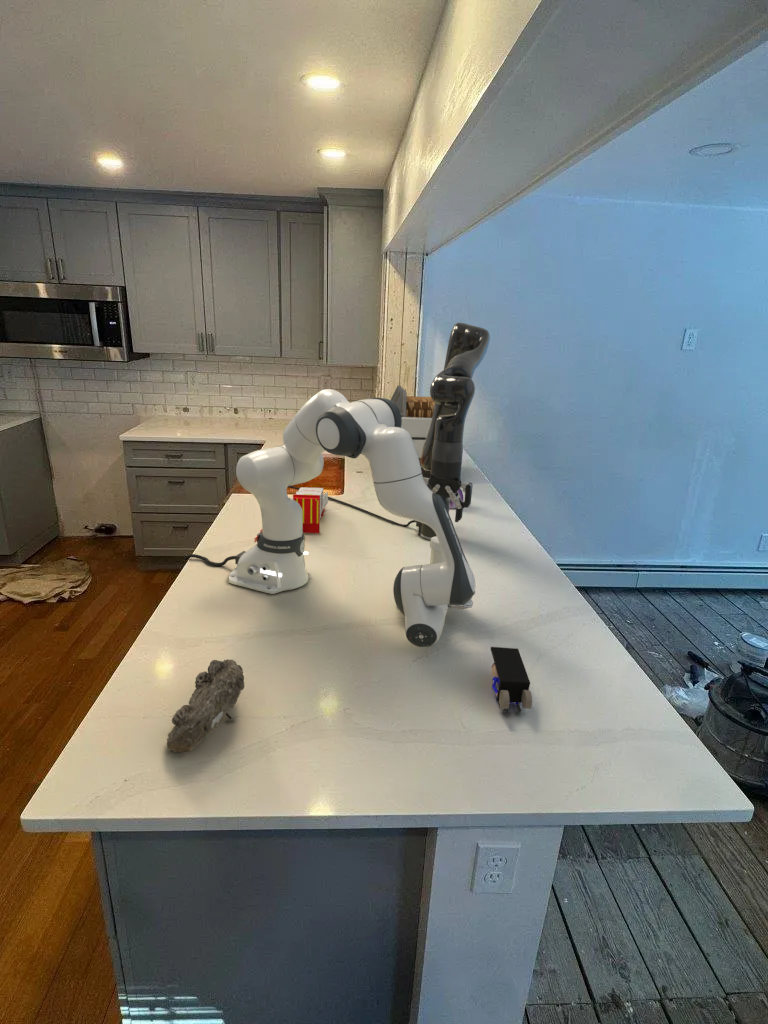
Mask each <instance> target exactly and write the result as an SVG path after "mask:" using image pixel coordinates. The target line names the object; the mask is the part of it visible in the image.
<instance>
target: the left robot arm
mask: <svg viewBox="0 0 768 1024" xmlns="http://www.w3.org/2000/svg"><path fill="white" fill-rule="evenodd" d="M401 424H402V417H401V413H400V410H399V408H398V407H397V405H396V404H395V403H394V402H392V401H391V399H388V398H385V397H369V398H364V399H359V400H354V401H351V402H349V400H348V399H347V398H346V397H345V396H344V394H343V393H341V392H339V391H338V390H336V389H333V388H332V389H331V388H325V389H322V390H320V391H318V392H317V393H315V394H314V395H313V396H311V397H310V398H309V399H308V400H307V401H306V402H305V403H304V404H303V405H302V406H301V407H300V409H299V410H298V411H297V412H296V414H295V415H294V416H293V417H292V419H291V420H290V421H289V423H288V424H287V425H286V426H285V428H284V430H283V432H282V441H283V444H282V445H278V446H273V447H268V448H262V449H257V450H255V451H252V452H249V453H247V454H245V455H242V456H241V457H240V458H239V459H238V461H237V463H236V466H235V467H236V468H235V476H236V479H237V481H238V483H239V485H240V486H241V487H242V488H243V489H244V490H245V491H247V492H248V493H250V494H251V495H252V496H253V497H254V498H255V499H256V501H257V503H258V505H259V510H260V514H261V529H260V531H259V532H258V533H257V534H256V537H254V539H253V540H254V542H253V543H256V544H254V545H253V546H252V547H250V548H249V549H247V550H242V551H241V552H239V553H238V554H235V555H230V556H228V557H226V558H225V559H224V560H223V561H222V562H216V561H215V562H214V561H211V560H210V559H209V558H207V557H206V556H203V555H201V554H200V555H199V554H197V553H190V554H187V555H186V556H184V557H183V560H189V559H191V558H193V559H194V558H195V559H199V560H202V561H204V562H205V563H206V564H208V565H209V566H213V567H223V566H225V565H226V564H227V563H228V561H231V560H232V561H233V560H234V562H235V563H234V564H235V565H236V567H235V568H234V569H233V570H232V571H231V572H230V573H229V575H228V583H229V584H232V585H235V586H239V587H242V588H246V589H249V590H250V589H251V590H254V591H258V592H262V593H266V594H269V595H275V594H278V593H281V592H283V591H290V590H291V591H292V590H294V589H298V588H301V587H303V586H304V585H306V584H307V583H308V582H309V579H310V577H309V575H308V571H307V567H306V561H305V556H306V555H309V552H308V551H305V548H306V541H305V533H304V532H303V512H302V508H301V506H300V505H299V503H298V502H296V501H295V500H293V498H291V497H289V496H288V488H289V487H288V486H296V485H301V484H305V483H307V482H310V481H311V480H313V479H315V478H317V477H319V476H320V475H321V474H322V472H323V470H324V464H325V463H324V462H325V460H324V456H323V453H324V452H327V453H328V454H331V455H335V456H342V457H347V458H350V459H357V458H358V457H359V456H360V455H361V456H363V457H365V459H366V460H367V461H368V464H369V467H370V472H371V477H372V482H373V487H374V491H375V496H376V499H377V501H378V503H379V505H380V507H382V508H383V509H384V510H385V511H386V512H388V513H389V514H391V515H393V516H395V517H399V518H401V519H402V518H403V519H407V520H410V521H412V520H415V521H418V522H421V523H424V524H426V525H428V526H429V527H431V528H432V529H433V530H434V532H435V533H436V536H437V538H438V541H439V543H440V546H441V549H442V551H443V554H444V557H445V559H446V562H443V563H436V564H430V563H429V564H416V565H408V566H403V567H402V568H401V569H400V570H399V571H398V572H397V574H396V576H395V579H394V581H393V589H392V591H393V600H394V602H395V606H396V607H395V608H396V610H397V611H399V612H400V613H401V614H402V616H404V635H405V637H406V640H407V641H408V642H409V643H410V644H412V645H413V646H415V647H417V648H418V647H419V648H428V647H432V646H433V645H435V644H436V643H437V642H438V641H439V639H440V638H441V635H442V633H443V630H444V627H445V623H446V616H447V612H448V609H454V610H460V611H461V610H463V611H465V610H467V609H472V608H473V607H474V600H473V597H474V595H475V594H476V579H475V575H474V573H473V570H472V568H471V567H470V564H469V561H468V560H467V557H466V555H465V552H464V551H463V547H462V545H461V542H460V538H459V537H458V536H459V535H458V534H457V531H456V528H455V526H454V523H453V521H452V518H451V516H450V512H449V513H448V510H447V508H446V506H445V503H444V501H443V500H442V498H441V497H440V495H438V494H435V493H433V492H432V491H431V490H430V489H429V488H428V486H427V485H426V483H425V481H424V479H423V476H424V475H423V471H422V466H420V462H419V458H418V454H417V451H416V448H415V445H414V443H413V440H412V438H411V435H410V434H409V432H408V431H406V430H405V429H403V428H401Z"/></svg>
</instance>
